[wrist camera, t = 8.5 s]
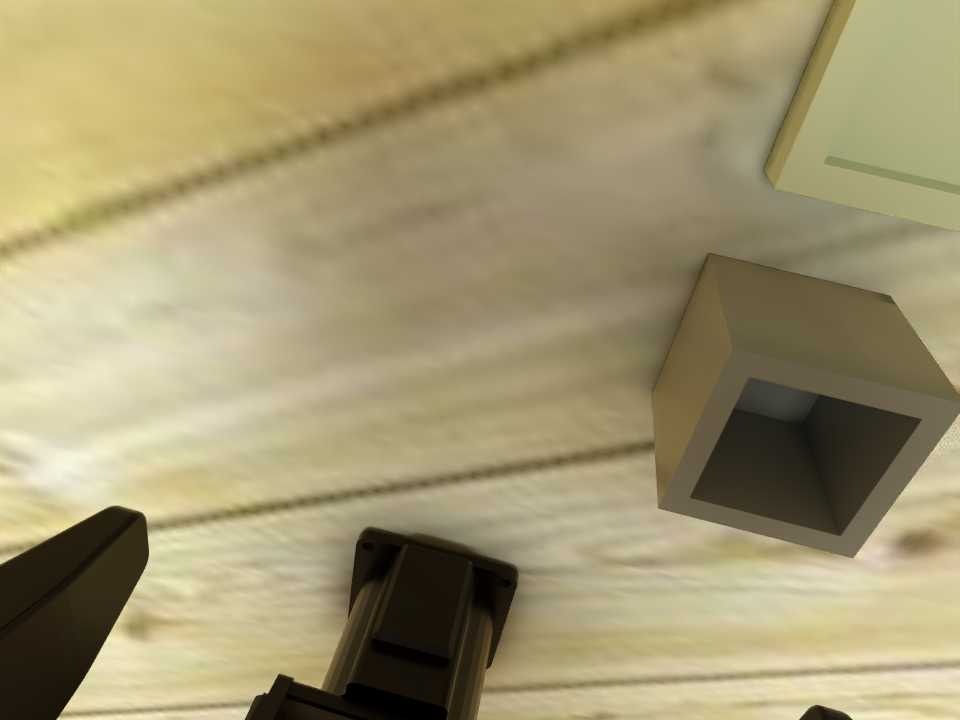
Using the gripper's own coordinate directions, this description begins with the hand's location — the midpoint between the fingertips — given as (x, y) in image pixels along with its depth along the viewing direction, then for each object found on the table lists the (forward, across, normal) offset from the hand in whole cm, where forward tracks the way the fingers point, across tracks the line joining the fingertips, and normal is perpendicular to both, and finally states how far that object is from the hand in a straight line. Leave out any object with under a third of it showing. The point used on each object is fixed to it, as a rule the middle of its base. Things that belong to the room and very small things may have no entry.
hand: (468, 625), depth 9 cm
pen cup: (+13, -7, +1) cm, 14 cm away
